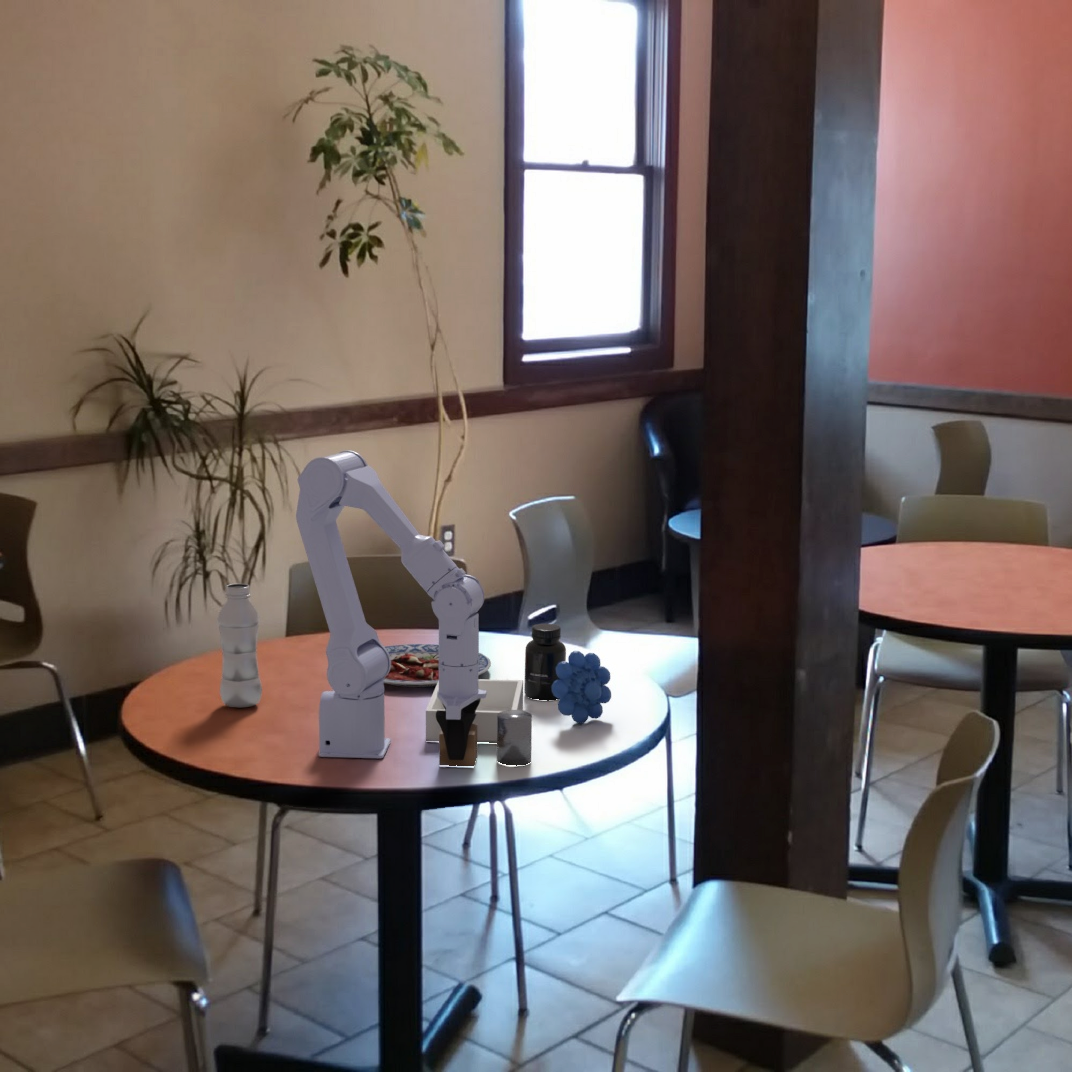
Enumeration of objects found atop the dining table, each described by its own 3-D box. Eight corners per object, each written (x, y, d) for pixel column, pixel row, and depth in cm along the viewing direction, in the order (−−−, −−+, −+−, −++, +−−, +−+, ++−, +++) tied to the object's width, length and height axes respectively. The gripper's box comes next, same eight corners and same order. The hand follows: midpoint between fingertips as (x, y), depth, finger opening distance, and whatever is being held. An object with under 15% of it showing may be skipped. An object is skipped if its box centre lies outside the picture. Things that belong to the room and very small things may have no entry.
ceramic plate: (434, 704, 233) (434, 686, 232) (314, 679, 246) (314, 663, 245) (518, 669, 254) (518, 653, 254) (403, 648, 268) (403, 633, 267)
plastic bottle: (253, 713, 226) (249, 591, 222) (213, 710, 227) (209, 589, 224) (268, 701, 232) (265, 582, 229) (229, 698, 233) (226, 580, 230)
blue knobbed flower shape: (569, 737, 216) (570, 661, 214) (542, 725, 221) (543, 651, 219) (627, 723, 223) (628, 650, 221) (599, 713, 228) (601, 641, 226)
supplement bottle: (530, 703, 233) (531, 632, 231) (519, 691, 240) (520, 622, 237) (570, 700, 235) (571, 630, 233) (558, 689, 241) (559, 620, 239)
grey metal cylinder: (495, 766, 203) (495, 720, 201) (498, 755, 207) (498, 709, 206) (530, 767, 202) (530, 720, 201) (532, 756, 207) (532, 710, 206)
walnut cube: (439, 767, 202) (439, 734, 201) (443, 755, 207) (443, 723, 206) (474, 768, 202) (474, 734, 201) (477, 756, 207) (477, 724, 206)
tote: (425, 742, 213) (425, 710, 212) (439, 707, 230) (439, 678, 229) (515, 745, 212) (516, 713, 211) (522, 710, 229) (523, 680, 228)
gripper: (482, 676, 194) (481, 770, 197) (490, 649, 209) (490, 737, 211) (431, 675, 195) (431, 769, 197) (443, 648, 209) (443, 736, 211)
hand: (458, 752), depth 204 cm, fingers closed on walnut cube, 5 cm apart
